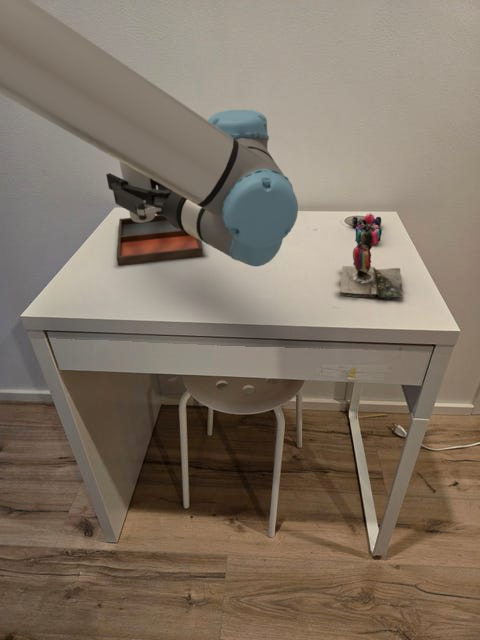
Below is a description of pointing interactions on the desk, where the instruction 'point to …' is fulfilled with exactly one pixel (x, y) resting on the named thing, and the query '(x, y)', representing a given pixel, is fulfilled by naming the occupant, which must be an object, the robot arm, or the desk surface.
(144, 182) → the beverage can
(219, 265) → the desk surface
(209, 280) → the desk surface
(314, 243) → the desk surface
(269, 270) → the desk surface
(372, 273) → the statue
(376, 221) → the toy car
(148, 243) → the sorting tray
